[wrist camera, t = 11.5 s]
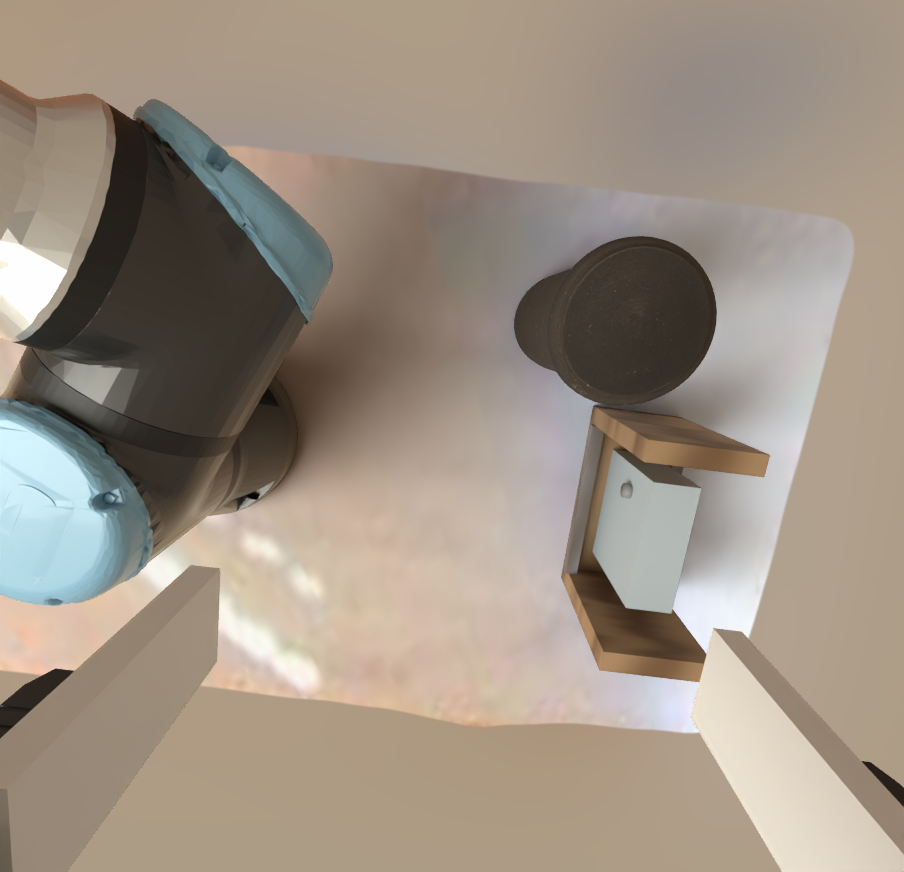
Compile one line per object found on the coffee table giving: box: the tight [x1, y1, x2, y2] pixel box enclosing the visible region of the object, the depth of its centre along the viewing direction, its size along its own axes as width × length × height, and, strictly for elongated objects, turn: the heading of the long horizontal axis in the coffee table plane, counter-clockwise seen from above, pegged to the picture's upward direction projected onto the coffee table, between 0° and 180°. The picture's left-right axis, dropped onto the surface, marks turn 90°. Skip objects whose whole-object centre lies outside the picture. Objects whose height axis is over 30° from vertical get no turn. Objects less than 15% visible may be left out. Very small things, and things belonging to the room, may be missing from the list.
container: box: [514, 236, 717, 405], centre depth 36 cm, size 9×9×20 cm
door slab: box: [592, 450, 702, 614], centre depth 43 cm, size 4×10×10 cm, turn 173°
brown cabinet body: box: [561, 406, 770, 682], centre depth 42 cm, size 8×17×14 cm, turn 173°
